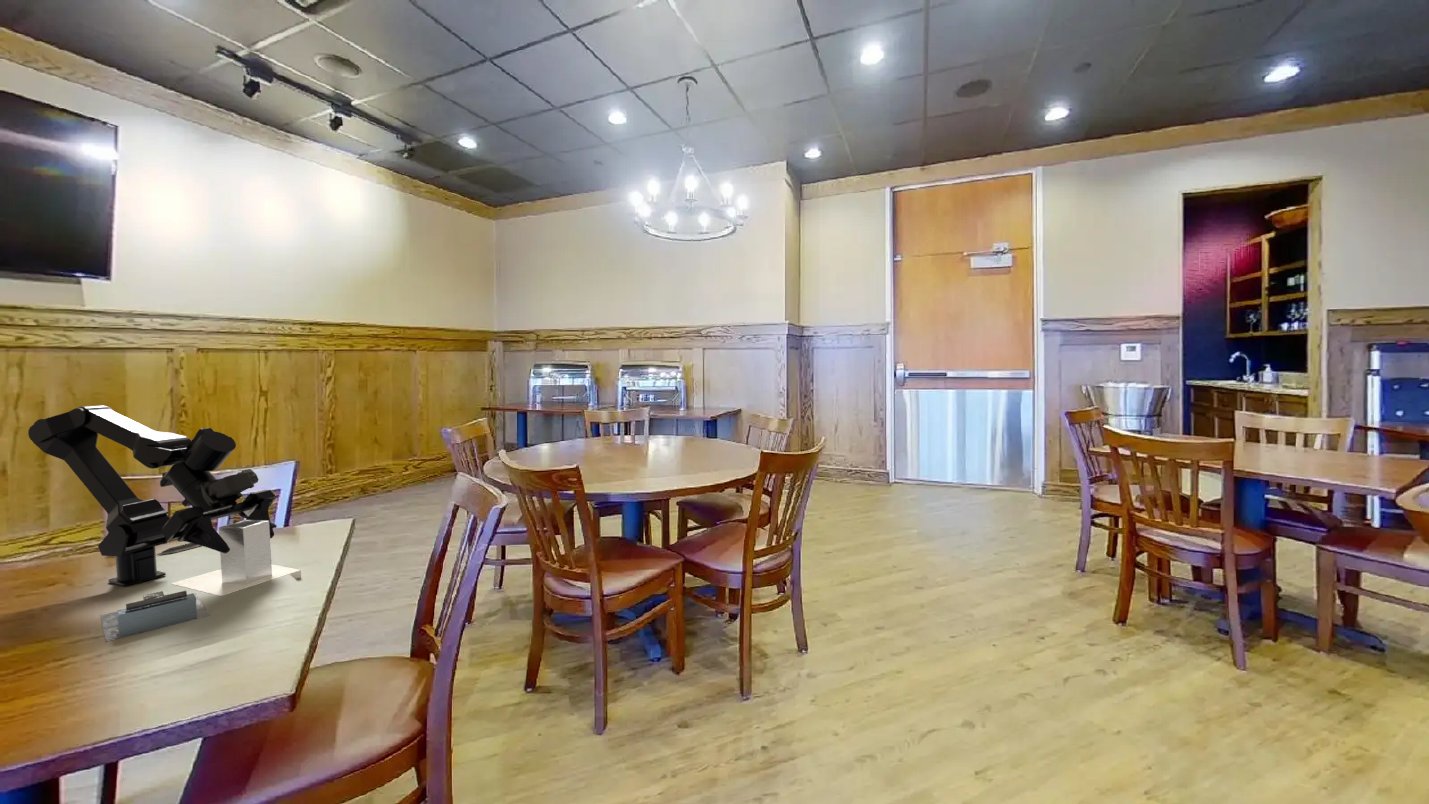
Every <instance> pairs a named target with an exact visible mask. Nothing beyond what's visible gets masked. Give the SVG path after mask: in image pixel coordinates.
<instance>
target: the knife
mask: <svg viewBox="0 0 1429 804" xmlns="http://www.w3.org/2000/svg"><path fill="white" fill-rule="evenodd" d="M271 525H272V527H275V528H277V524H275V523H273V522H271ZM184 544H185V545H184ZM184 544H181V545H177V546H173V547H169V548H167V549H165V550H163V551H161V552H159V553H157V554H156V556H161V555H168V554H174V553H178V552H182V551H186V550H190V549H194V548H197V547H201V545H197V544H193V543H190V542H187V543H184Z"/></svg>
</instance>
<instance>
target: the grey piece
mask: <svg viewBox="0 0 1429 804" xmlns="http://www.w3.org/2000/svg"><path fill="white" fill-rule="evenodd" d="M187 593H188V592H187V590H182V591H179V592H178V591H177V592H174V593H170V594H165V593H164V592H163V590H161V591H157V592H153V593H149V594H143V595H142V600H138V601H134V602H133V601H132V602H130V603H125V608H123V609H118V610H116V611H113V612H109V613H105V614H101V615H100V620H101V625H102V630H103V635H104V640H105V642H106V643H108V642H111V641H114V640H119V639H124V638H127V637H131V636H135V635H139V634H143V633H147V632H151V631H154V630H158V629H162V628H166V627H170V626H175V625H177V624H182V623H186V622H189V621H193V620H197V619H202V618H205V617H209V616H210V614H209V612H208V610H207V609H206V607H205V606H204V605H203V602H202V601H201V600H200V598H199V596H198V595H197V593H188V594H187Z"/></svg>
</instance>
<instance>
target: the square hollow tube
mask: <svg viewBox="0 0 1429 804" xmlns="http://www.w3.org/2000/svg"><path fill="white" fill-rule="evenodd" d="M218 534H219V535H220V536H221V537H222V539H223V540H224V541H225V542H226V543H227V545H228V546H229V548H230V551H229V552H228V553H222V552H219V553H220V567H221V568H220V569H221V572H222V583H229V584H244V585H247V584H249V583H252V582H254V581H257V580H259V579H262V578H264V577H267V576H269V575H272V564H273V563H272V554H271V553H272V552H271V551H272V549H271V538H270V529H269V521H264V520H246V519H244V520H239V521H236V522H233V523H230V524H226V525H222V526H218Z"/></svg>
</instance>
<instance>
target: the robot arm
mask: <svg viewBox="0 0 1429 804" xmlns="http://www.w3.org/2000/svg"><path fill="white" fill-rule="evenodd" d="M27 431H28V434H27V435H28V438H29V440H31V442H33V444H34V445H35V446H36V447H38V449H40V450H41V451H42V452H43V453H45V454H46V455H50V456H52V457H55V458H58V459H60V460H62V461H64V462H65V463H66V464H67V465H68V467H69V468H70V469H71V470H72V472H73V473H74V474H75V475H76V476H77V478H78V479H79V480H80V481H81V482H82V484H83V485H84V486H85V488H86V489H87V490H88V491H89V492H90V494H91V495H92V496H93V497H94V499H95V500H96V501H97V502H98V504H100V506H101V507H102V508H103V509H104V511H105V512H106V513H107V519H106V523H105V524H106V526H105V528H106V531H107V532H108V533H107V534H106V535H105V537H104V538H103V539H102V540H101V542H100V543H99V544H98V546H97V547H98V549H99V552H100V554H101V556H104V557H115V567H116V568H115V569H116V570H115V571H116V577H112V578H109V579H108V583H110V584H115V585H119V586H122V587H127V586H130V585H131V586H132V585H135V584H139V583H143V582H146V581H150V580H153V579H157V578H161V577H165V576H166V575H167V574H166V572H164V571H161V570H157V559H156V558H157V554H156V546H160V545H166V544H168V541H169V542H172V541H175V540H177V542H179V543H181V542H186V543H193V544H197V545H201V546H202V547H205V548H206V549H207V548H208V549H210V550H213V551H216V552H219V553H220V552H222V553H228V552H229V551H230V548H229V546H228V545H227V543H226V542H225V541H224V540H223V539H222V537H221V536H220V535H219V532H218V531H217V530H216V529H215V528H214V527H213V524H212V521H214V520H218V519H222V518H225V517H229V516H232V515H236V514H238V515H239V516H240V517H241V518H244V519H245V520H264V521H269V529H270V539H272V538H273V537H274V536H275V532H274V528H272V525H271V523H272V522H271V519H270V515H269V508H270V507H271V505H273V503H274V501H275V500H276V499H277V498H278V497H277V495H275V493H274V492H273V491H272V490H271V489H262V490H258V491H254V492H249V494H248V495H247V496H246V497H245V499H243V501H240V502H237V500H239V499H241V497H242V496H243V494H242V493H243V492H245V491H246V490H248V489H253V488H254V487H255V484H256V483H258V482H259V477H258V475H257V474H256V473H255V472H254V471H253V470H252V469H251V468H246V469H243V470H241V471H239V472H237V473H235V474H232V475H231V474H230V475H226V476H225V477H222V478H218V479H217V478H216V477H215V476H214V475H213V473H211V472H214V471H216V470H218V469H219V468H220V467H221V466H222V465H223V464H224V462H225V460H226V459H228V458H229V456H230V455H231V454H232V452H233V451H234V450H235V449H236V446H237V443H236V441H235V440H234V438H232V437H231V436H228V435H227V434H225V433H221V432H219V431H214V430H213V429H212V427H205V428H199V429H198V431H197V432H196V433H195V436H194V437H193V438H191V439H190V438H189V437H188V436H186V435H183V434H177V433H174V432H166V431H159V430H154V429H152V428H149V427H148V426H145V425H143V424H141V423H140V422H137V421H135V420H133V419H131V418H129V417H127V416H126V415H125V416H124V415H122V414H120V413H118V412H116V411H114V410H113V408H112V407H110V406H107V405H104V404H102V405H85V406H83V405H82V406H78V407H77V408H73V409H71V410H69V411H68V412H67V411H66V412H63V413H60V414H56V415H53V416H49V417H46V418H40V419H37V420H36V421H34V423H33V424H32V425H31V426H30V427H29V428H28V430H27ZM100 435H101V436H103V437H105V438H107V439H109V440H111V441H112V442H115V443H117V444H119V445H121V446H123V447H126V448H127V449H130V450H131V451H132V456H133V458H134V459H135V460H136V461H137V462H139V463H141V464H142V465H143V466H144V467H146V468H149V469H159V468H165V467H170V468H169V469H168V471H166V472H162V474H161V480H160V481H159V486H160V487H161V488H163V487H164V488H165V487H169V486H173V487H174V488H175V489H176V490H177V491H178V493H179V494H180V495H181V496H182V497H183V498H184V500H182V502H181V504H182V505H183V506H184V507H186V508H183V509H180V510H175V512H174V513H173V514H171V516H169V515H168V514H169V511H167V510H166V509H164V507H163V506H162V504H161V503H160V501H159V500H157V499H156V498H152V499H147V500H143V499H140V498H139V497H138V496H137V495H136V494H135V493H134V491H133V489H132V488H130V487H129V485H128V484H127V483H126V481H125V480H124V479H123V478H122V476H121V475H120V474H119V473H118V472H117V471H116V469H115V468H114V467H113V465H112V464H111V463H110V462H109V461H108V460H107V459H106V457H105V456H104V455H103V453H101V451H100V450H99V449H98V447H97V444H98V437H99V436H100ZM190 506H191V507H190ZM201 546H200V547H201Z"/></svg>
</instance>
